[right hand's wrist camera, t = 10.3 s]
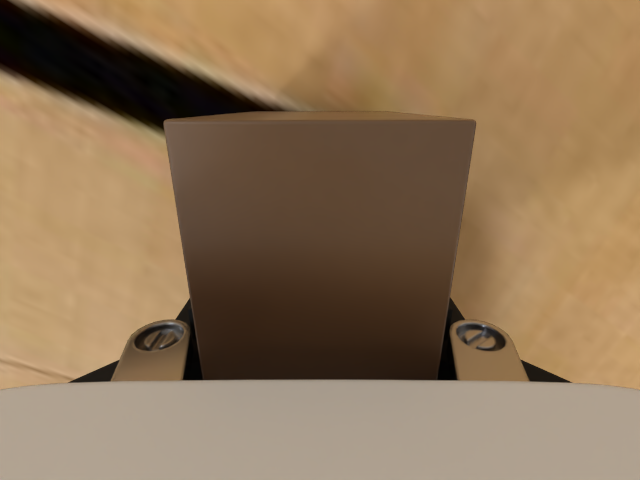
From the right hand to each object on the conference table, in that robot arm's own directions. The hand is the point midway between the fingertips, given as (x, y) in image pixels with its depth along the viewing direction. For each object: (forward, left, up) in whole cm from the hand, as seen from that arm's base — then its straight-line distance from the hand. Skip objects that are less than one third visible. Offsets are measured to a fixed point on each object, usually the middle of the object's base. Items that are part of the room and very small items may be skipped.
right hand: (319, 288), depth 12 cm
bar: (+25, 0, -2) cm, 25 cm away
